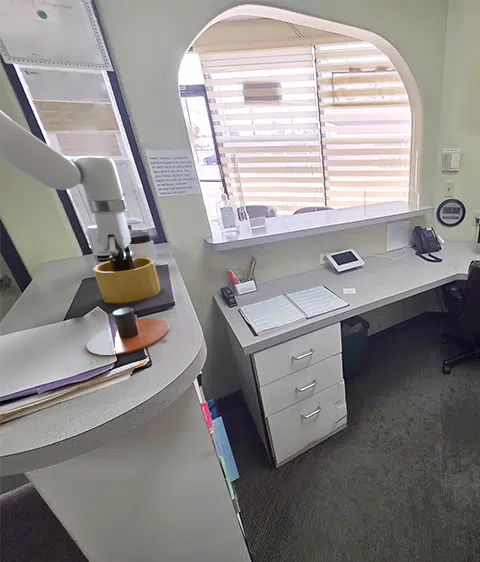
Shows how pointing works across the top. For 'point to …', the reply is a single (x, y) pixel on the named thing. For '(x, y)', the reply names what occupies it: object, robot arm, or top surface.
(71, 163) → the robot arm
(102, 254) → the supplement can
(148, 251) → the jar
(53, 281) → the top surface
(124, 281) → the tin
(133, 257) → the block
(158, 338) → the lid
